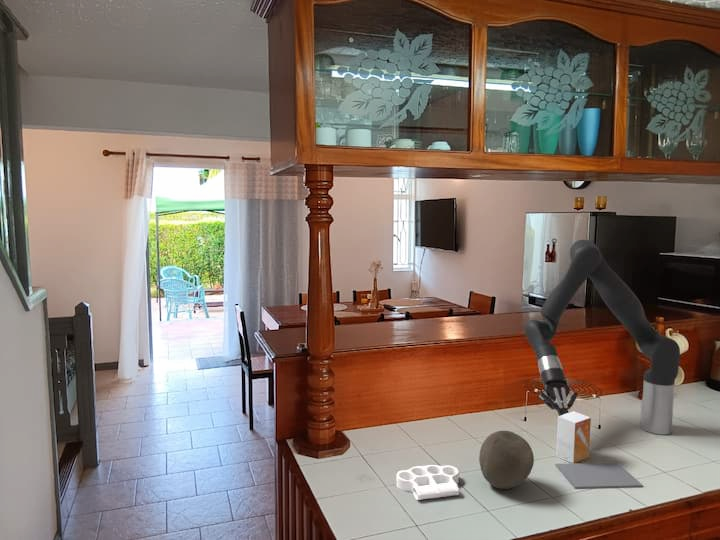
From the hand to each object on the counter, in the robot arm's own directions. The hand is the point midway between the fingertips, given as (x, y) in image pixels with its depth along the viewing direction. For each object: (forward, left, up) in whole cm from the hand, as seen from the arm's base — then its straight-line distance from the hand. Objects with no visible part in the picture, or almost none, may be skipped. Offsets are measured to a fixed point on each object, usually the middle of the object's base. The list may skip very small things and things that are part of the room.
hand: (565, 421), depth 161 cm
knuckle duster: (+20, -47, -10) cm, 52 cm away
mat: (+17, +2, -9) cm, 19 cm away
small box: (+5, 0, -10) cm, 11 cm away
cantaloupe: (+21, -26, -10) cm, 35 cm away
